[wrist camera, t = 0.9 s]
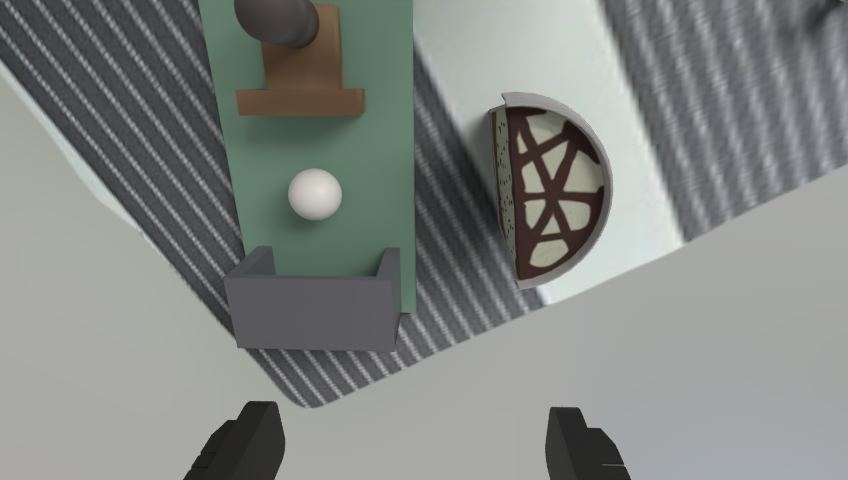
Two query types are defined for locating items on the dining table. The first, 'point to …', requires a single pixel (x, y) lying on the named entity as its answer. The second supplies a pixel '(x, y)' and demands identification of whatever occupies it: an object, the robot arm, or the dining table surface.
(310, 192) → the ball
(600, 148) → the food container
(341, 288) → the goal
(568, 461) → the robot arm
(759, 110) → the dining table surface
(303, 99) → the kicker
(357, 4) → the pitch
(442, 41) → the dining table surface
